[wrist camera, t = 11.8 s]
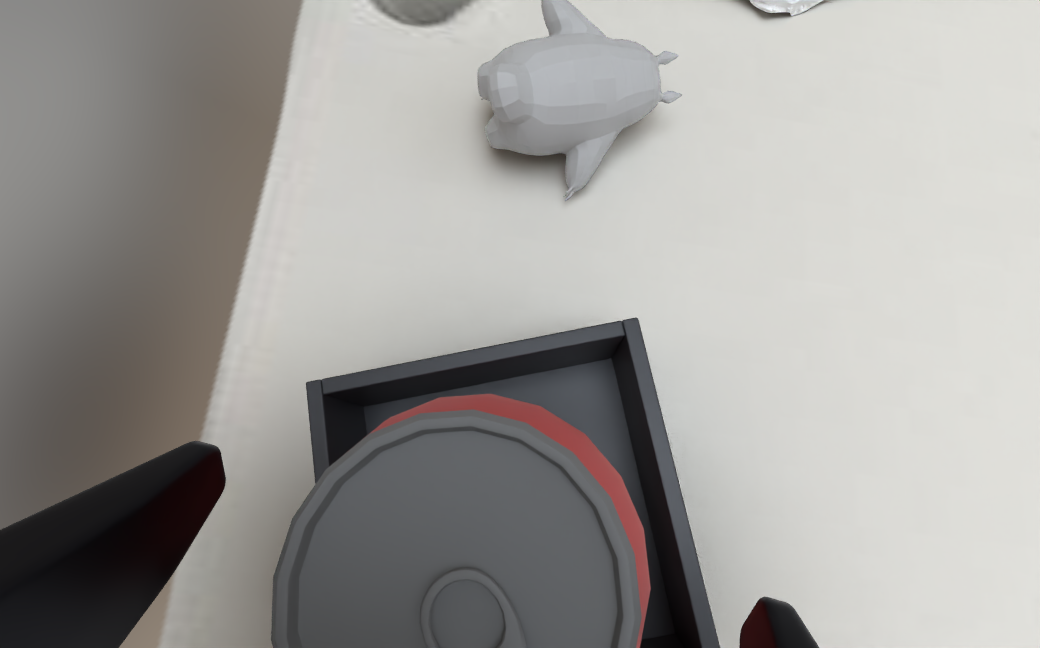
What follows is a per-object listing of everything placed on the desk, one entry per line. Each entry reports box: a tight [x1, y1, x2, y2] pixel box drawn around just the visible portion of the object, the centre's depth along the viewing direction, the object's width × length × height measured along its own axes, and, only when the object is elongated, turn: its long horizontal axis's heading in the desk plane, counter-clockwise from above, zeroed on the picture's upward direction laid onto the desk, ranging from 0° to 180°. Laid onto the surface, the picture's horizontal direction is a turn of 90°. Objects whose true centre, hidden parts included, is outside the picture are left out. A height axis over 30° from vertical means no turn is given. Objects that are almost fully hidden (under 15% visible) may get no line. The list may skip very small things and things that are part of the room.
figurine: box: [478, 0, 682, 201], centre depth 21 cm, size 8×6×8 cm
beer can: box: [271, 394, 651, 648], centre depth 14 cm, size 7×7×12 cm
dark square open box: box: [306, 318, 720, 648], centre depth 18 cm, size 10×10×4 cm
